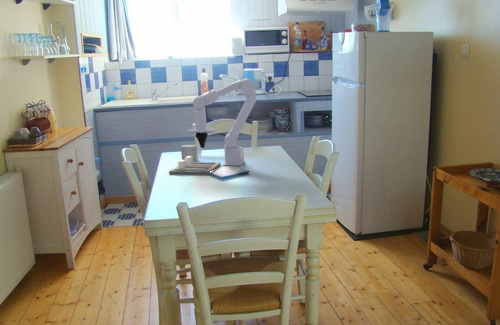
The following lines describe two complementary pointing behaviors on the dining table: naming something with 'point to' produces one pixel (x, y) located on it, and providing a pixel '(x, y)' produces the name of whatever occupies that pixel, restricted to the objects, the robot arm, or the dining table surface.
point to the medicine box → (189, 152)
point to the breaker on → (189, 160)
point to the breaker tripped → (182, 164)
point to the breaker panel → (196, 168)
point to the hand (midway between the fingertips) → (202, 147)
